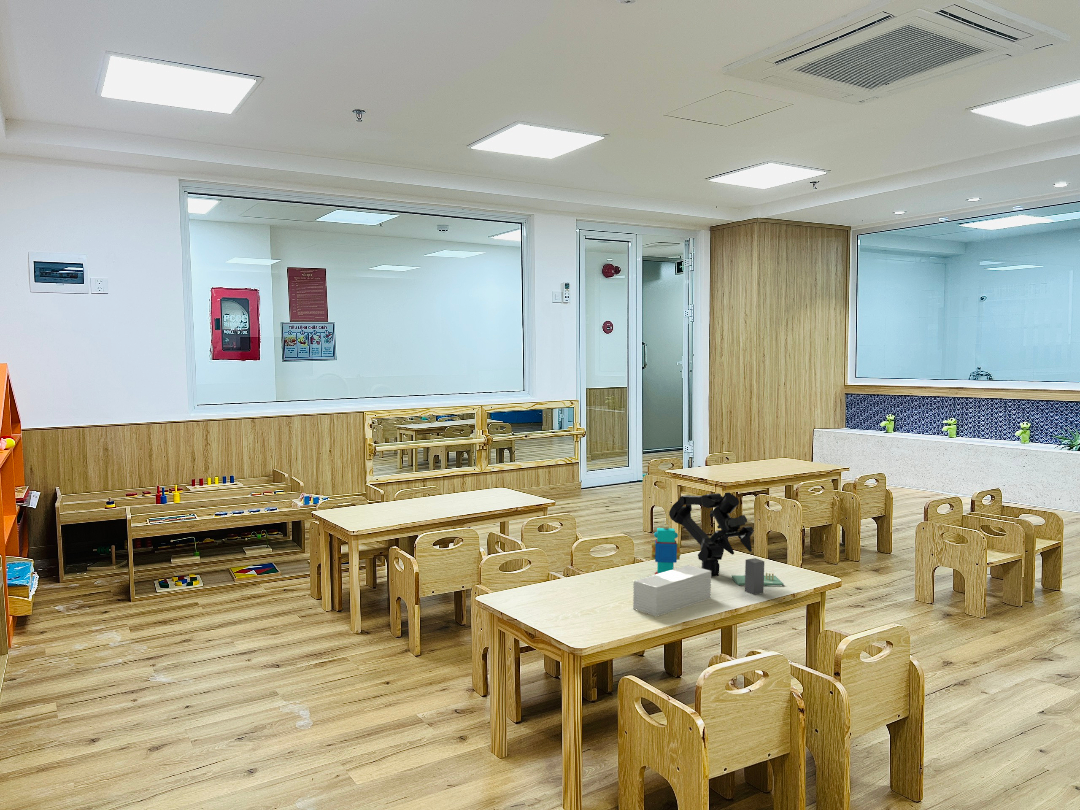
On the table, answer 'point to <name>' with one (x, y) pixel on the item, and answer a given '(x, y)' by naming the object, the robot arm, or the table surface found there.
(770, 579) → the board
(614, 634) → the table surface
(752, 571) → the block
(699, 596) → the stack of papers
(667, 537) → the toy robot
